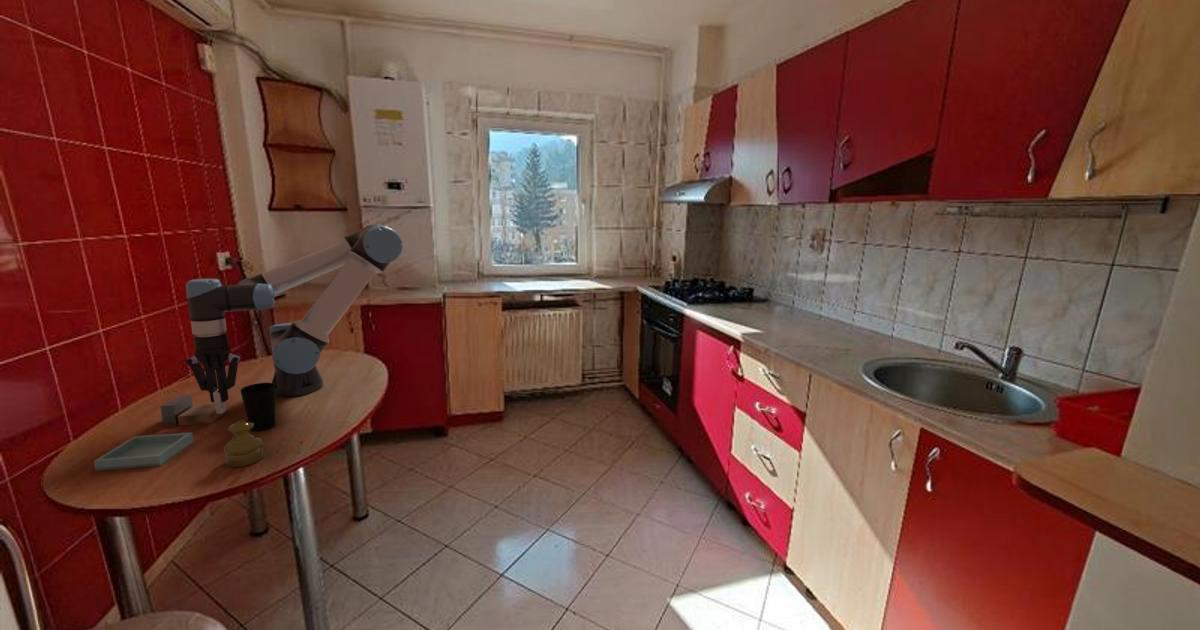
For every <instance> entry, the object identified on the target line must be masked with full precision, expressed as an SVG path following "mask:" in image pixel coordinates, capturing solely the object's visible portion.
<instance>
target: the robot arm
mask: <svg viewBox="0 0 1200 630" xmlns="http://www.w3.org/2000/svg"><path fill="white" fill-rule="evenodd" d="M402 251H403V240H402V239H401V236H400V235H399V234H398V232H397V231H395V230H394V229H393V228H391V227H389V226H387V225H384V224H383V225H382V224H380V225H379V224H378V225H377V224H371V225H367V226H365V227H362V228H361V229H359V230H357V231H354V232H353V233H350V234H348V235H346V236H344V237H342V238H341V241H340V242H337V243H335V244H332V245H330V246H328V247H325V248H323V249H320V250H318V251H315V252H312V253H310V254H307V255H305V256H302V257H300V258H297V259H295V260H292V261H290V262H287V263H284V264H282V265H280V266H277V267H274V268H271V269H269V270H267V271H265V272H262V273H260V274H257V275H255V276H252V277H249V278H248V277H247V278H243V279H242V280H240V281H238V282H237V283H236V284H235V285H225V284H224V285H223V284H222V283H221V280H220V279H218V278H197V279H196V278H195V279H191V280H188V281H187V282H186V283H185V291H186V300H187V305H188V306H187V307H188V312H189V317H190V318H189V319H190V326H191V333H192V335H194V336H193V337H192V340H193V346H194V349H195V352H194V355H193V356H191V357H189V358H187V359H185V363H186V364H187V366H188V367H190V369H191V372H192V373H193V375H194V378H195V380H196V383H197V384H198V386H199V388H200V390H201V391H203V392H204V391H207V392H208V393H209V397H210V402H211V403H214V404H215V410H216V414H222V413H224V412H225V411H226V410H227V411H228V408H227V401H228V400H229V393H228V392H229V391H228V390H230V389H232V388H233V387H235V384H236V380H237V379H236V378H237V374H238V366H239V364H240V363H239V362H240V361H241V360H242V356H241V355H240V354H239V355H237V354H234V353H232V350H231V349H230V347H229V345H230V344H229V343H230V342H229V335H228V333H227V329H228V328H227V322H226V315H225V314H226V313H229V312H230V313H231V312H239V311H240V312H242V311H244V312H245V311H263V310H268V309H273V308H274V307H275V295H277V294H279V293H282V292H284V291H287V290H289V289H292V288H294V287H297V286H299V285H302V284H303V283H306V282H308V281H310V280H313V279H316V278H318V277H320V276H323V275H326V274H328V273H330V272H332V271H335V270H337V269H339V268H341V267H342V268H341V269H340V271H339V272H338V273H337V275H336V276H335V277H334V278H333V280H332V281H331V282H330V284H329V285H328V286H327V287H326V289H324V291H323V292H322V293H321V295H320V296H319V297H318V298H317V300H316V301H315V302H314V304H313V305H312V306H311V308H310V309H309V310H308V311H307V312H306V313H305V315H304V316H303V318H302V319H300V320H295V321H292V322H286V323H278V324H273V325H271V326H270V327H269V336H270V344H271V351H272V355H271V357H272V361H273V366H274V367H273V368H274V372H273V375H272V379H271V382H270V383H273V384H274V385H275V397H279V398H281V397H282V398H290V397H299V396H302V395H303V396H304V395H308V394H312V393H314V392H317V391H319V390H321V389H322V388H323V387H324V385H325V384H324V378H323V377H322V374H321V372H320V370H319V369H318V366H317V364H319V363H318V362H319V361H320V357H321V353H322V352H323V350H324V349H325V348H326V347H327V346H328V344H329V342H330V338H329V334H330V333H331V332H332V330H333V329H334V328H335V326H336V325H337V324H338V323H339V321H340V320H341V318H342V317H343V316H344V315H345V314H346V313H347V311H348V309H350V307H351V305H352V304H353V303H354V302H355V301H356V299H357V298H358V297H359V295H360V294H361V293H362V291H363V290H364V288H366V286H367V285H368V283H369V282H370V281H371V280H372V279H373V277H374V276H375V275H376V274H382V273H383V272H384V271H385V270H386V268H387V267H388V266H389V264H390V263H393V262H394V261H396V260H397V259H398V258H399V257H400V256H401V253H402ZM227 361H228V362H229V364H228V369H227V371H226V366H227V364H226V362H227ZM200 362H201V363H200ZM224 414H225V413H224Z"/></svg>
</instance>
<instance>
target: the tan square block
mask: <svg viewBox="0 0 1200 630" xmlns="http://www.w3.org/2000/svg"><path fill="white" fill-rule="evenodd" d="M227 412H228V409H227V410H226V411H225V412H224V413H222V414H216V410H215V403H214V404H200V405H199V404H198V405H197V404H196V405H193V407H192V408H190V409H189V410H187V411H185V412H184V413H182V414H181V415H179V416H178V422H179V424H178V426H188V425H189V426H190V425H201V424H212V423H214V422H215V421H216V420H218V419H220V417H222V416H223V415H224V414H226V413H227Z"/></svg>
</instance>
